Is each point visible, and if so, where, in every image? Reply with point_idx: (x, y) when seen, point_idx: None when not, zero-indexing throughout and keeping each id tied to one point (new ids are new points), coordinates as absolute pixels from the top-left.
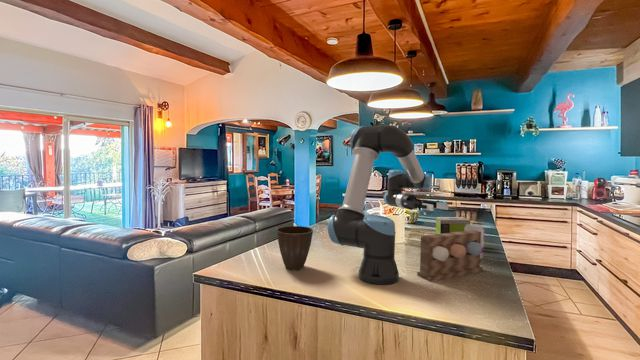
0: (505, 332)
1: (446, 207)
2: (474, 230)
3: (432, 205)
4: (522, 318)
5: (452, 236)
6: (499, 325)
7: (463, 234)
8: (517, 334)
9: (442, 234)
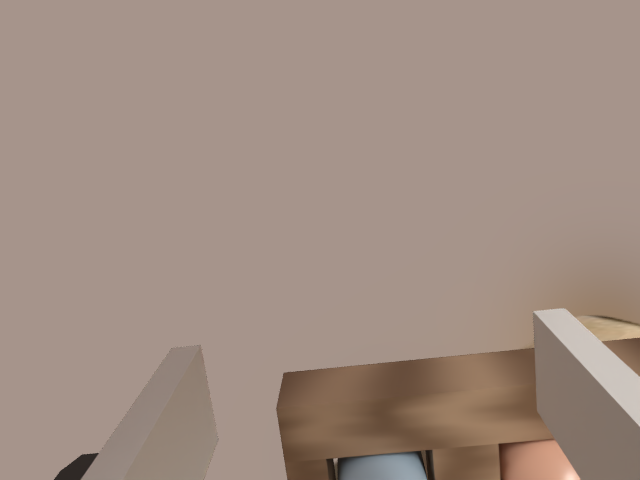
0: (617, 323)
1: (206, 415)
2: (280, 398)
3: (559, 317)
4: (530, 343)
5: None
6: (612, 335)
7: (453, 358)
8: (594, 319)
9: (625, 363)
